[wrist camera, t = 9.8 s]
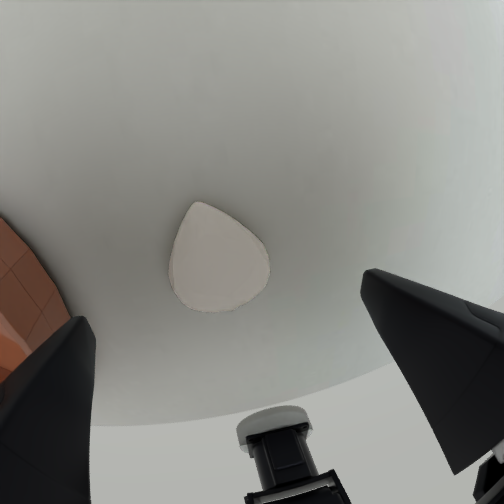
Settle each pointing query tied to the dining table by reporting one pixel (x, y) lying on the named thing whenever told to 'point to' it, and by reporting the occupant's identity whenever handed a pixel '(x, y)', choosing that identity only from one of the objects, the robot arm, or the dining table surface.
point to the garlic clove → (216, 261)
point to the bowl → (24, 302)
